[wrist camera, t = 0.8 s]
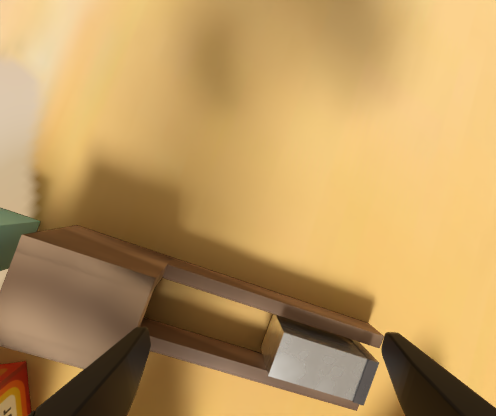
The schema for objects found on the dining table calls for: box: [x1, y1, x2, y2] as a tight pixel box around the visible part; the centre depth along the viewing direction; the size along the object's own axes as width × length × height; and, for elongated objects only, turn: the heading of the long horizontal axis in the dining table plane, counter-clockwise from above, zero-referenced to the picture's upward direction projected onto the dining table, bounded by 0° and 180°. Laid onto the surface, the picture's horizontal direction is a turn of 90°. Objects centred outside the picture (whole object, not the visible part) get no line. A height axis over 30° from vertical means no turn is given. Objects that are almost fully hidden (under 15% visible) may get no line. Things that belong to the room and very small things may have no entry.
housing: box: [0, 225, 384, 411], centre depth 20 cm, size 7×30×6 cm, turn 69°
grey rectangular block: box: [261, 314, 379, 405], centre depth 22 cm, size 4×9×4 cm, turn 69°
